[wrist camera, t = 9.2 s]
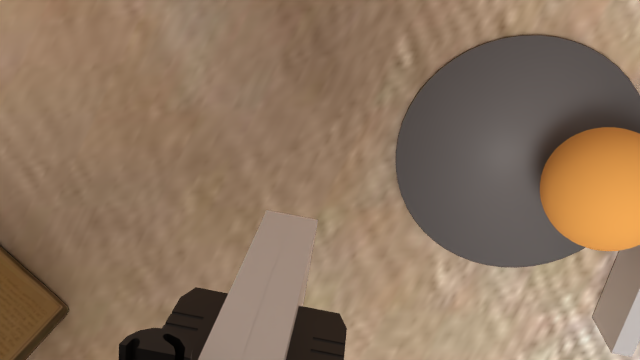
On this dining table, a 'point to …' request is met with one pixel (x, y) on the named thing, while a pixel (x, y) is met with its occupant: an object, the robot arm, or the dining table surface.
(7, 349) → the food packaging
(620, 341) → the wall
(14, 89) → the dining table surface
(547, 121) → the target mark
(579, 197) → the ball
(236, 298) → the robot arm
